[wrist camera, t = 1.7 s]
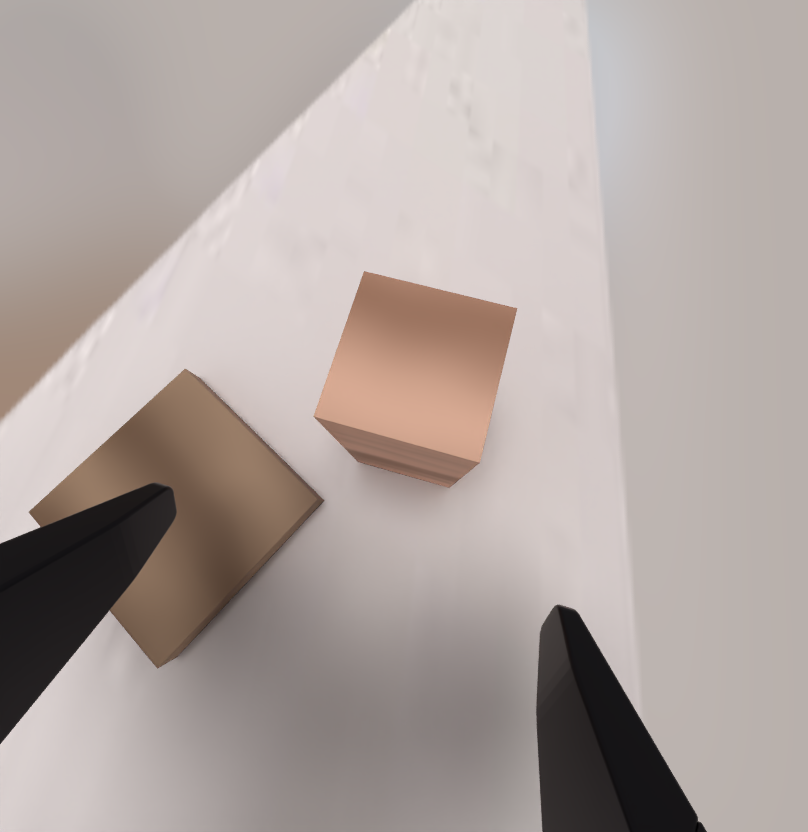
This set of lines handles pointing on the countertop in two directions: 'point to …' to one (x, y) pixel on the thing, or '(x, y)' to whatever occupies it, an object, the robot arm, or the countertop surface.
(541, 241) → the countertop surface
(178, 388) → the base board
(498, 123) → the countertop surface
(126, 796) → the countertop surface
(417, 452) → the pillar
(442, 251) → the countertop surface
